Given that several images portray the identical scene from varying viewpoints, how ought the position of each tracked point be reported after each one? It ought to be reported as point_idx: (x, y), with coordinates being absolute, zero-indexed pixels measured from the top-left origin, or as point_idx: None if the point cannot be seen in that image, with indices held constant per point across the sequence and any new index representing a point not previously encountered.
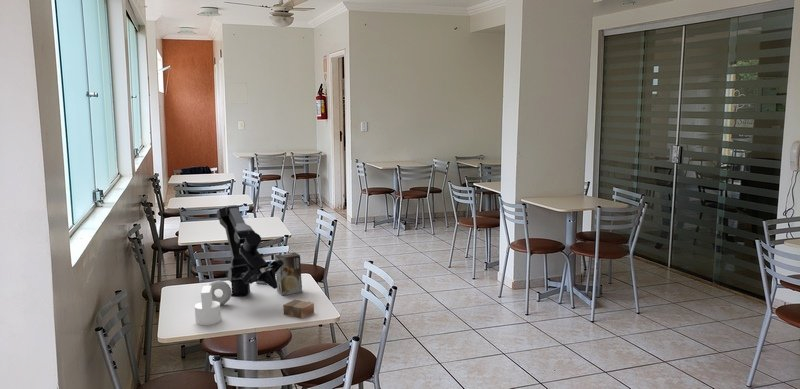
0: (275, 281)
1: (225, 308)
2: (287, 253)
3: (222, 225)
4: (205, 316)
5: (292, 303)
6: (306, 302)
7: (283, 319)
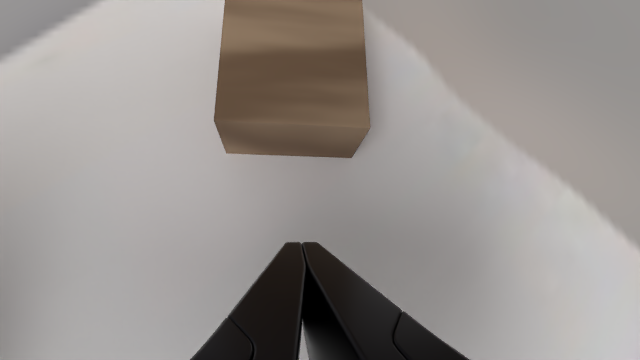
0: (286, 278)
1: None
2: None
3: None
4: None
5: (313, 81)
6: (245, 7)
7: (413, 111)
